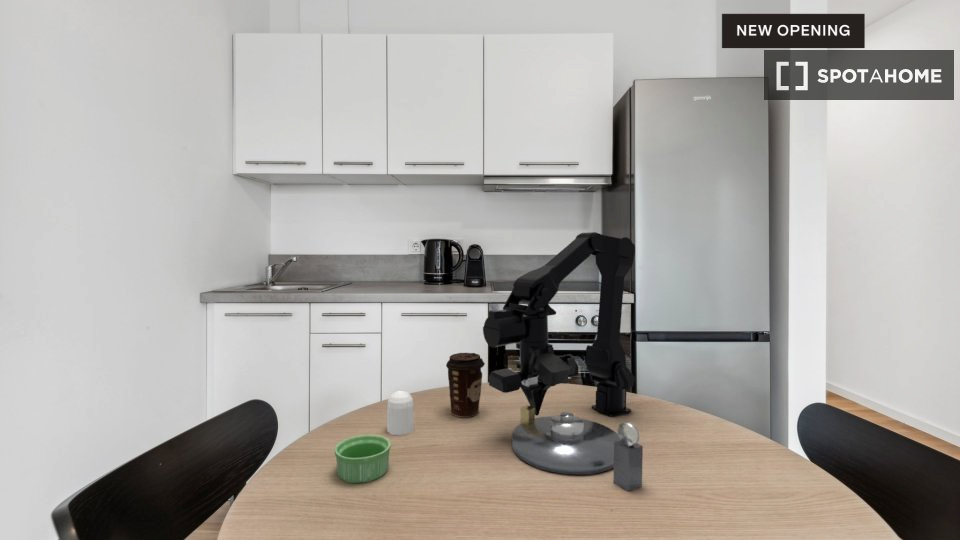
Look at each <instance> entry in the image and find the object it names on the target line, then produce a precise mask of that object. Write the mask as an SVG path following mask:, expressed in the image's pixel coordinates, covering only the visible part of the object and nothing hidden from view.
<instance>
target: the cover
mask: <svg viewBox="0 0 960 540" xmlns="http://www.w3.org/2000/svg"><path fill="white" fill-rule="evenodd" d="M582 419H583V418H580V417H577V416H575V415H574V414H573V413H572V412H568V411H565V412H561V413H560V414H558V415H555V416H554V417H552V418H551V429H550V436H551V438H552V439H553V440H554V441H556V442H559V443H563V444H577V443H580V442H582V441H583V437H584V422H583V420H582Z"/></svg>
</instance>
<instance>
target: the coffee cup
mask: <svg viewBox="0 0 960 540" xmlns="http://www.w3.org/2000/svg"><path fill="white" fill-rule="evenodd" d="M445 365H446V368H447V376H448V378H447V379H448V388H449V389H448V390H449V399H450V414H451V416H454V417H456V418H457V417H458V418H470V417H474V416H476V415H478V414H479V411H480V399H481V393H482V391H481V390H482V383H483V381H482V379H483V372H482V368H483V367H485V365H486V364H485V362H484V360H483V358H482V357H481V355H480V354H479V353H475V352H458V353H454V354H451V355H449V360H448V361H447V362H446V364H445Z"/></svg>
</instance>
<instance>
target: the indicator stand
mask: <svg viewBox="0 0 960 540" xmlns="http://www.w3.org/2000/svg"><path fill="white" fill-rule="evenodd" d="M617 434H618V435H619V438H620V440H621V441H618V442H615V443H614V468H613V479H612V480H613V484H614V485H616V486H618V487H620V488H622V489H623V490H626V492H627V493H628V492H631V491H634V490H636V489H639V488H641V487H643V455H644V454H643V453H644V452H643V449H644V447H643V445H642V444H639V441H640V432H639V429H638V427H637V426H636V425H635V424H634V423H633V422H631V421H625V422H621V423H620V424H619V425H618V428H617Z"/></svg>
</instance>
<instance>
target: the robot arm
mask: <svg viewBox="0 0 960 540" xmlns="http://www.w3.org/2000/svg"><path fill="white" fill-rule="evenodd" d="M635 254H636V247H635V243H633V241H632V240H631V239H630V238H629V237H624V236H623V237H622V236H621V237H620V236H619V237H615V236H609V235H604V234H601V233H599V232H596V231H595V232H594V231H592V232H591V231H590V232H580V233H579V234H577V235H576V236H575V239H573V240H572V241H571V242H570V243H568V245H566V246H565V247H564V248H563V249H561V251H560V252H558V253H557V254H555V256H553V258H551V259H550V260H549V261H548V262H547V263H545V264H544V265H542V266H541V267H538V268H536V269H533V270H531V271H528V272H526V273H524V274H522V275H521V276H519V277H518V278H516V280H515V281H514V283H513V287H512V288H513V289H512V290H511V292H510V293H509V296H508V297H507V300H506V301H505V303H504V305H503V307H502V309H501V310H497V309H496V310H495V309H492V310H489V311H488V317H487V318H486V319H485V321H484V323H483V325H484V326H482V334H483V337H484V340H485V342H486V343H487V345H488V346H489V347H491V348H497V347H502V346H508V345H511V344H512V345H513V344H515V348H516V349H518V350H519V358H520V359H519V362H516V368H517V369H519V371H516V372H515V371H513V370H510V369H508V368H502V369H498V370H493V371H491V372H490V374H489V376H488V386H490V387H491V388H494V389H495V390H498V391H499V392H501V393H506V394H508V393H511V392H516V391H519V390H520V389H521V390H522V392H523V393H524V396H525V398H526V400H527V402H528V404H529V406H532V407H535V417H536V416H537V417H538V416H539V414H540V412H541V408H542V405H543V402H544V400H545V397H546V394H547V391H548V390H549V389H550V388H551V387H555V386H557V385H560V384H566V383H567V382H568V379H569V378H572V377H576V376H579V372H580V371H579V364H578V363H577V361H576V359H575V358H576V357H575V356H574V355H573V354H571V353H569V354H564V355H556V354H555V351H554V350H555V349H554V347H553V344H552V343H549V325H548V324H549V322H548V321H549V320H548V316H554V315H556V314H557V311H556V310H555V309H554V308H552V307H551V306H550V303H551V301H552V300H553V298H554V297H555V296H556V294H558V292H559V287H560V284H561V283H562V282H563V280H564V279H566V278H567V277H568V276H569V275H570V274H571V273H573V271H574V270H576V269H577V268H578V267H579V266H580V265H582V264H583V263H584V262H585V261H586V260H587V259H588V258H589V257H590V256H594V257H595V265H596V267H597V269H598V272H599V273H600V275H601V276H600V277H601V279H600V291H599V293H600V294H599V304H598V306H599V307H598V314H597V315H598V317H597V318H598V319H597V327H596V328H597V330H596V331H597V332H596V337H595V340H594V341H593V343H592V344H591V345H590V344H588V345H586V348H585V351H586V352H585V353H586V354H585V360H584V363H585V364H586V365H585V366H586V371H588V374H589V377H590V380H591V382H596V390H595V404H594V405H591V409H594V410H596V411H597V412H600V413H602V414H605V415H607V416H609V417H616V416H619V415H625V414H628V413H632V408H630V407H627V390H630V389H631V388H634V385H635V381H636V377H635V376H634V374H633V373H632V372H631V370H630V369H629V368H628V366H627V361H626V359H627V357H626V355H627V354H626V352H625V350H624V347H623V345H622V343H621V340H620V338H621V325H622V313H623V311H622V310H623V301H624V300H623V298H624V285H625V277H626V275H628V272H629V271H630V270H631V269H632V267H633V263H634V259H635Z"/></svg>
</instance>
